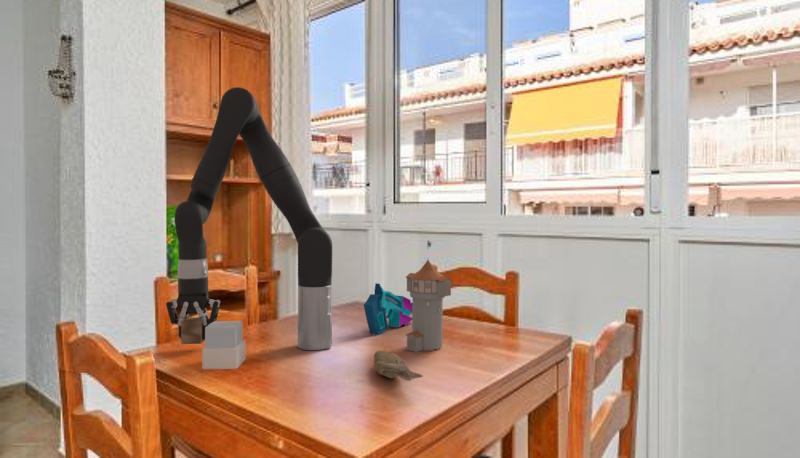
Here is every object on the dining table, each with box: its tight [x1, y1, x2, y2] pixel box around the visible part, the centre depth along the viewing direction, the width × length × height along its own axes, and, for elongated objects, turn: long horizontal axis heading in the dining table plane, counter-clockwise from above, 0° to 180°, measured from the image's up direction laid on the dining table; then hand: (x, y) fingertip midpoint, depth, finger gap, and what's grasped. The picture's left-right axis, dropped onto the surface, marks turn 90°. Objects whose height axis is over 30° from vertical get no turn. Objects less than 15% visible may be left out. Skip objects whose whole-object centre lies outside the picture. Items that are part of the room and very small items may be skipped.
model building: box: [405, 240, 453, 353], centre depth 140 cm, size 14×12×30 cm
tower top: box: [204, 320, 243, 348], centre depth 122 cm, size 7×7×5 cm
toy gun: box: [363, 283, 413, 336], centre depth 162 cm, size 4×26×15 cm, turn 148°
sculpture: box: [373, 350, 424, 382], centre depth 111 cm, size 6×25×5 cm, turn 23°
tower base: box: [201, 339, 246, 370], centre depth 122 cm, size 8×8×5 cm
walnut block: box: [180, 316, 205, 345], centre depth 134 cm, size 5×5×6 cm
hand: (194, 338), depth 134 cm, fingers closed on walnut block, 5 cm apart
